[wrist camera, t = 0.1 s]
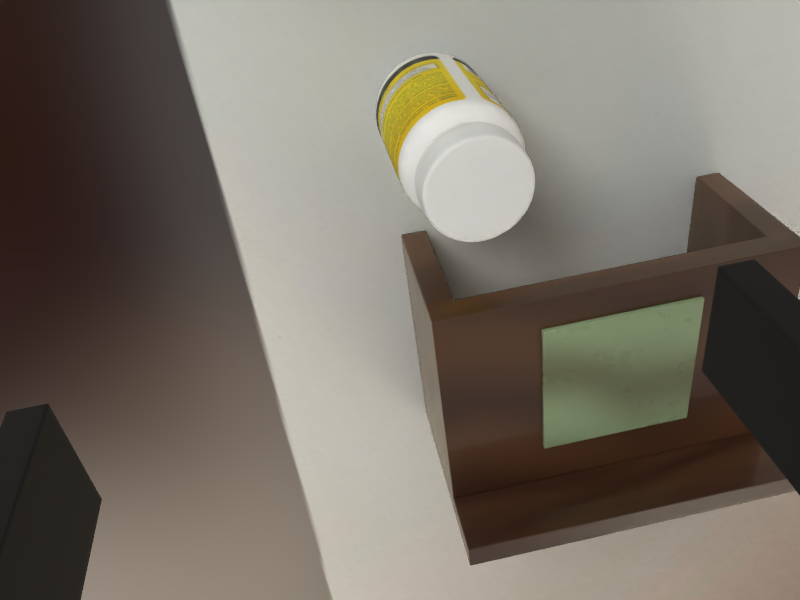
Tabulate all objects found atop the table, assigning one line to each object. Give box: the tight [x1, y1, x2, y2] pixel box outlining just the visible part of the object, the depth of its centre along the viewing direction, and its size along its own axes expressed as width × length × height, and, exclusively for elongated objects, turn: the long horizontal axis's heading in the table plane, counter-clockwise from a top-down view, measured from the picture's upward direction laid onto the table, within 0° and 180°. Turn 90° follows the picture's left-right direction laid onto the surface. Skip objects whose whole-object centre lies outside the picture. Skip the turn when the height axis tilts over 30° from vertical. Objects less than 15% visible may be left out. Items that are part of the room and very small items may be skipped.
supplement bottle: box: [376, 53, 535, 242], centre depth 28 cm, size 5×5×8 cm
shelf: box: [402, 173, 800, 565], centre depth 35 cm, size 12×16×10 cm
